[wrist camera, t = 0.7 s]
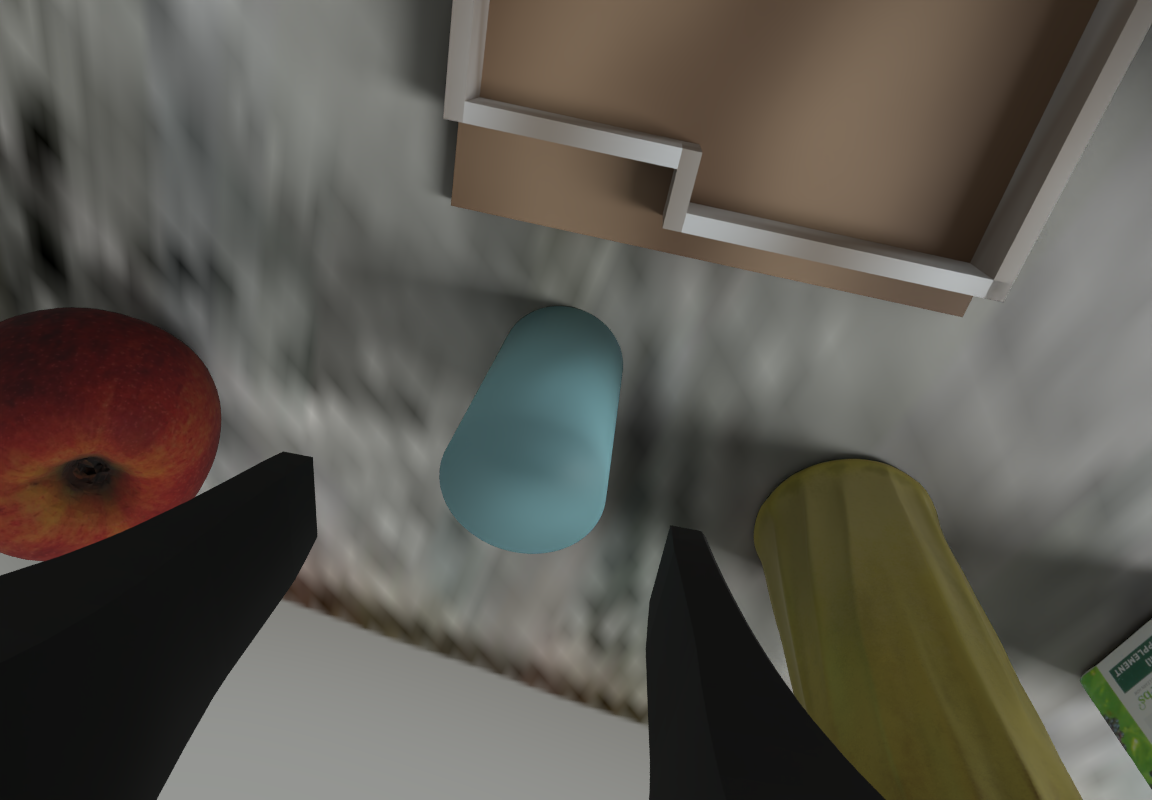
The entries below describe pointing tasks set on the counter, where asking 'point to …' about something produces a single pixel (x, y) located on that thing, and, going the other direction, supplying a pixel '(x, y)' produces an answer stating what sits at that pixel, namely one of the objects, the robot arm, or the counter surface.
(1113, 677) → the syrup box
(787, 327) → the counter surface
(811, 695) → the vase
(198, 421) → the apple
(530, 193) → the brown tray
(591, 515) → the peg
